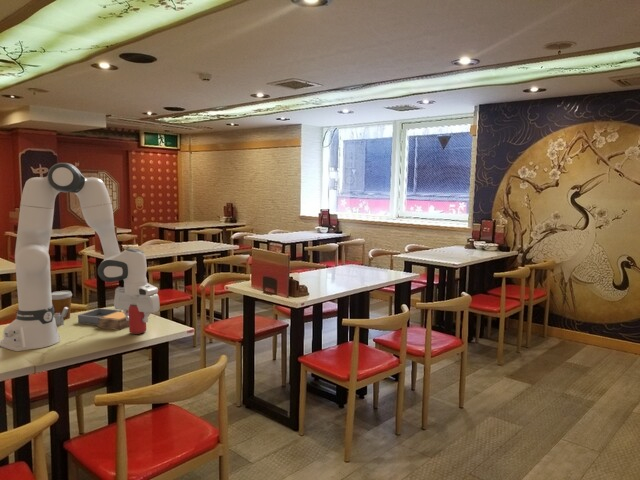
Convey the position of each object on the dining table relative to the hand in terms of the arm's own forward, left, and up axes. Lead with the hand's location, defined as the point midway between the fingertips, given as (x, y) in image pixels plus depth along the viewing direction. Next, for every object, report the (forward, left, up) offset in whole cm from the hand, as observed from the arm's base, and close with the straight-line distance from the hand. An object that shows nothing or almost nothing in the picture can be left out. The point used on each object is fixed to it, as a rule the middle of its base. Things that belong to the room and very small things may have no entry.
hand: (137, 321), depth 197 cm
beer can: (0, 0, -5) cm, 5 cm away
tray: (-29, +10, -5) cm, 31 cm away
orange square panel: (-16, +7, -2) cm, 18 cm away
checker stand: (-16, +7, -5) cm, 18 cm away
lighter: (-40, -1, -5) cm, 40 cm away
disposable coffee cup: (-48, +7, -5) cm, 49 cm away
